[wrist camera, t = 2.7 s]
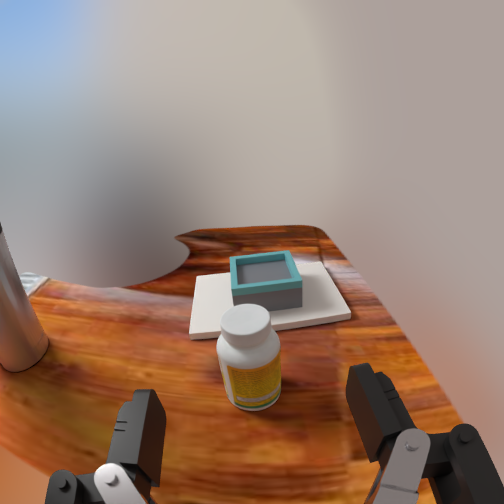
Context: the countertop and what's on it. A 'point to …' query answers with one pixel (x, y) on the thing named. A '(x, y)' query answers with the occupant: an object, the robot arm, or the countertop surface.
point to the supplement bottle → (249, 357)
